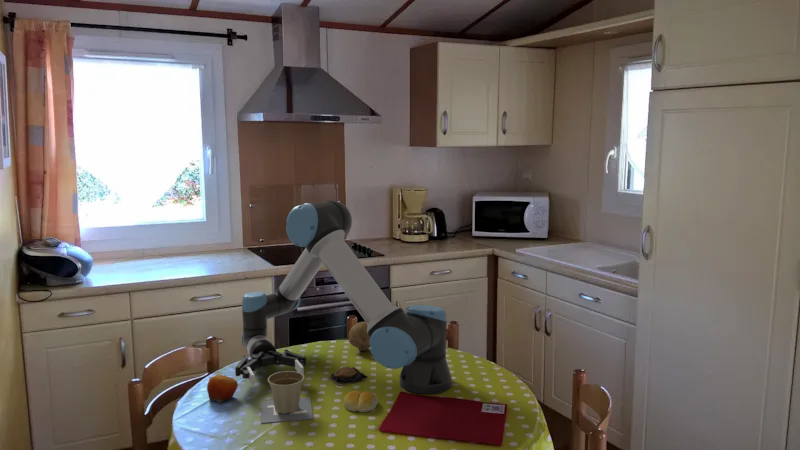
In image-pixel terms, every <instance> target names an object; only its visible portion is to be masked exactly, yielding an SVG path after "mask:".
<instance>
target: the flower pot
mask: <svg viewBox="0 0 800 450" xmlns="http://www.w3.org/2000/svg"><path fill="white" fill-rule="evenodd" d="M304 380H305V375H303V374H302V373H299V372H297V371H296V370H295V371H294V370H293V371H292V370H285V371H278V372H274V373H273V374H271V375H269V376H268V378H267V382H268V383H269V387H270V389H271V395H272V399H273V401H274V407H275V410H276V412H278V413H282V414H286V413H288V412H290V413H293V412H295V411H297V410H298V408H299V401H300V398H301V391H302V385H303V382H304Z"/></svg>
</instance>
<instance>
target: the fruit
mask: <svg viewBox="0 0 800 450" xmlns="http://www.w3.org/2000/svg"><path fill="white" fill-rule="evenodd" d="M238 386H239V384H238V381H237V380H236V379H234V378H233V377H231V376H227V375H223V374H216V375H214V376H211V377H210V378H209V379H208V381H207V385H206V391H207V395H208V399H209V402H212V401H216V402H218V403H219V405H220V406H222V405H221V404H222V402H225V401H229V400H230V399H232V397H233V396H234V395H235V392H236V391H237V389H238Z"/></svg>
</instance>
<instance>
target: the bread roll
mask: <svg viewBox="0 0 800 450" xmlns="http://www.w3.org/2000/svg"><path fill="white" fill-rule="evenodd" d="M378 401H379V398H378V397H377V396H376V394H374V393H373V392H372V391H368V390H367V391H363V392H361V391H359V390H352V391H350V392H348V393H347V394H346V395H345V396H344V398H343V406H344V408H345V409H346V410H348V411H350V412H359V413H367V412H372V411H373V410H374V409H376V407H377V405H378V403H379V402H378Z"/></svg>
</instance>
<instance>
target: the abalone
mask: <svg viewBox="0 0 800 450" xmlns="http://www.w3.org/2000/svg"><path fill="white" fill-rule="evenodd" d="M326 379H327V380H329V381H330V382H332V383H333V384H335V385H336V386H338V387H341V386H342V387H343V386H345V385H346V386H347V385H350V384H354V383H358V382H360V381H364V380H367V379H369V377H368V375H366V374H364V372H360V371H359V370H358V368H355V367H354V366H353V367H349V366H343V367H341V368H339V369H337V370H336V371H334V372H333V373H331V374H330V376H328V377H327V378H326Z"/></svg>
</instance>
